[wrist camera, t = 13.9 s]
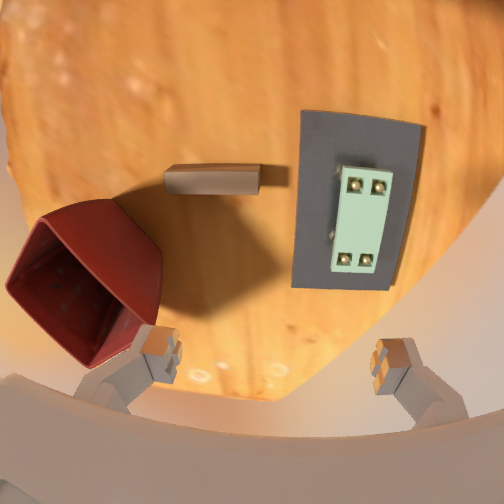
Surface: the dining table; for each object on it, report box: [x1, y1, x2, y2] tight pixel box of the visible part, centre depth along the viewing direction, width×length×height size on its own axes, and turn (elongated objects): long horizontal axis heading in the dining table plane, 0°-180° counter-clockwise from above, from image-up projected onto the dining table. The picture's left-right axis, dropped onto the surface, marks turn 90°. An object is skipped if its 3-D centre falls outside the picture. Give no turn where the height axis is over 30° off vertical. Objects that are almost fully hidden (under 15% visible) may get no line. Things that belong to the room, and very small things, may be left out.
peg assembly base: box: [291, 110, 421, 291], centre depth 38 cm, size 26×16×6 cm, turn 0°
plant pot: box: [5, 199, 163, 369], centre depth 41 cm, size 19×19×17 cm
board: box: [331, 165, 393, 273], centre depth 36 cm, size 14×6×1 cm, turn 0°
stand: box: [163, 164, 261, 195], centre depth 38 cm, size 3×12×4 cm, turn 90°
